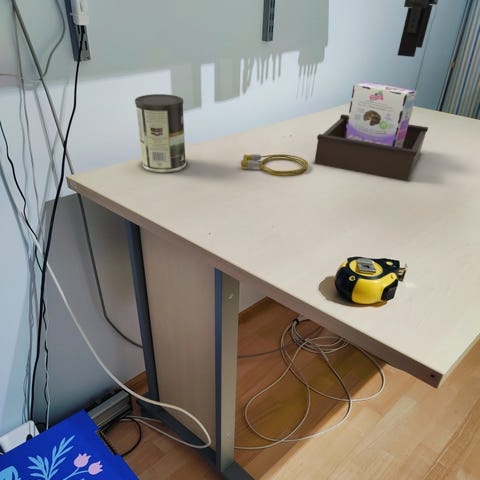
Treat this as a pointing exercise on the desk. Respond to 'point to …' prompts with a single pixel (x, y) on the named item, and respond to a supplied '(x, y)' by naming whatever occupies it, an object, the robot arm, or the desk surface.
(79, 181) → the desk surface
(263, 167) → the extension cord
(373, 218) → the desk surface
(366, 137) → the candy box
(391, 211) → the desk surface
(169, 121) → the coffee can
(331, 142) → the square shelf
